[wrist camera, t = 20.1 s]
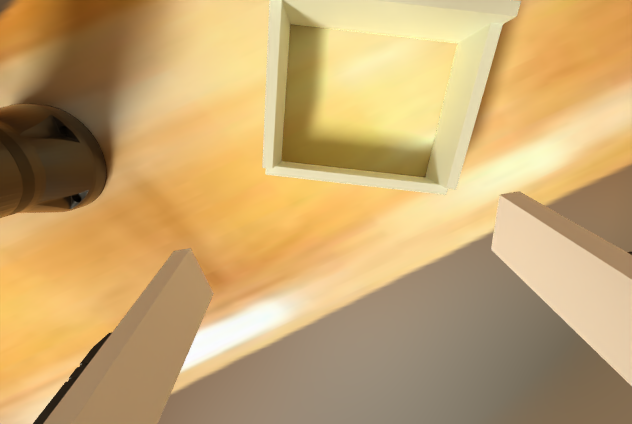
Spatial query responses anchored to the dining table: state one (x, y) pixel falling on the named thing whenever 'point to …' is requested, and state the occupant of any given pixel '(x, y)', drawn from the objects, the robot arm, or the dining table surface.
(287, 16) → the drawer
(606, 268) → the robot arm
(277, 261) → the dining table surface
